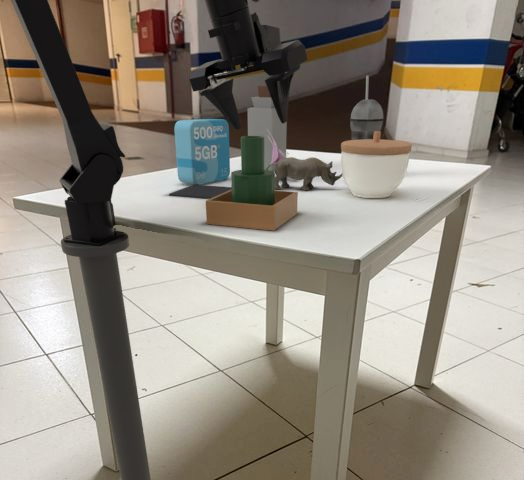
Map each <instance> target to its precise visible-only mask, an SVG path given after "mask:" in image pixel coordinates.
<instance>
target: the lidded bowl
mask: <svg viewBox="0 0 524 480" xmlns="http://www.w3.org/2000/svg"><path fill="white" fill-rule="evenodd" d="M381 133H382V132H381V130H380V131H375V132H374V137H373V139H363V140H352V139H351V140H350V139H349V140H344V141H342V142H341V144H340V150H341V151H340V152H341V153H340V171H341V174H342V179H343V181H344V184H345V185H346V187H347V188H348V189H349V190H350V192H351V195H352V196H354V197H358V198H363V199H384V198H385V199H386V198H389V197H390V196H391V194H392V193H393V192H394V191H396V190H397V188H398V187H399V186H400V185H401V184H402V183H403V181H404V179H405V177H406V174H407V171H408V167H409V162H410V156H411V151H412V148H413V147H412V146H413V144H412V143H410V142H408V141H403V140H395V139H381V136H382V135H381Z"/></svg>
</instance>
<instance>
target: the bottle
mask: <svg viewBox="0 0 524 480" xmlns="http://www.w3.org/2000/svg"><path fill="white" fill-rule="evenodd" d="M240 166H241V168H240V169H237V170H234V171H230V180H231V181H230V182H231V183H230V184H231V186H230V187H232V202H235V203H247V204H259V205H271V206H273V205H274V204H275V190H276V189H275V177H276V174H275V171H271V170H264V137H263V136H248V135H243V136H240Z"/></svg>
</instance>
